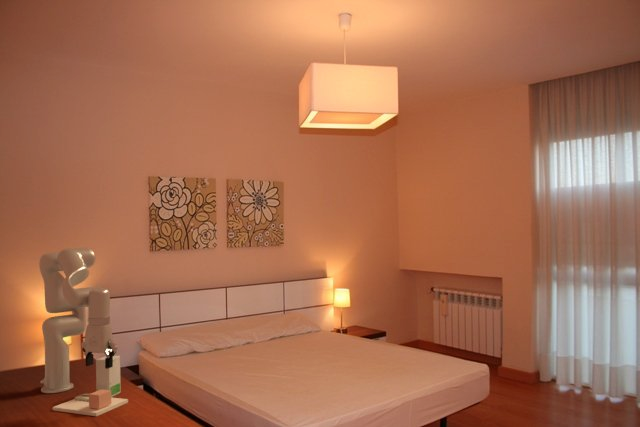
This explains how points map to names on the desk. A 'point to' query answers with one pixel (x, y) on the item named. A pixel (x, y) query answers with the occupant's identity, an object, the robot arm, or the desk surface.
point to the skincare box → (108, 376)
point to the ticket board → (87, 406)
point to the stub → (99, 399)
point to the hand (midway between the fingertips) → (99, 366)
